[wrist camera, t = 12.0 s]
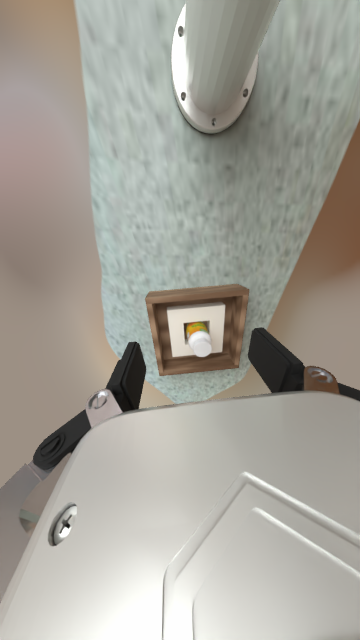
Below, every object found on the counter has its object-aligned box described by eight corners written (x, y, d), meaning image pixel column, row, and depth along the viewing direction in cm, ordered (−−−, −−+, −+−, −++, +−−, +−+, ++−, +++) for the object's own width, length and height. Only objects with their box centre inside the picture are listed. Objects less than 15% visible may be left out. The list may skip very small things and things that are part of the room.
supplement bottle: (206, 318, 38) (216, 338, 29) (204, 336, 40) (213, 359, 31) (185, 319, 37) (190, 339, 29) (185, 336, 40) (189, 360, 31)
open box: (149, 291, 35) (145, 298, 29) (237, 283, 35) (249, 289, 30) (160, 360, 44) (159, 376, 39) (230, 354, 45) (238, 367, 39)
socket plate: (167, 306, 36) (166, 310, 33) (221, 301, 36) (225, 305, 34) (172, 351, 42) (172, 357, 39) (219, 346, 42) (222, 352, 40)
